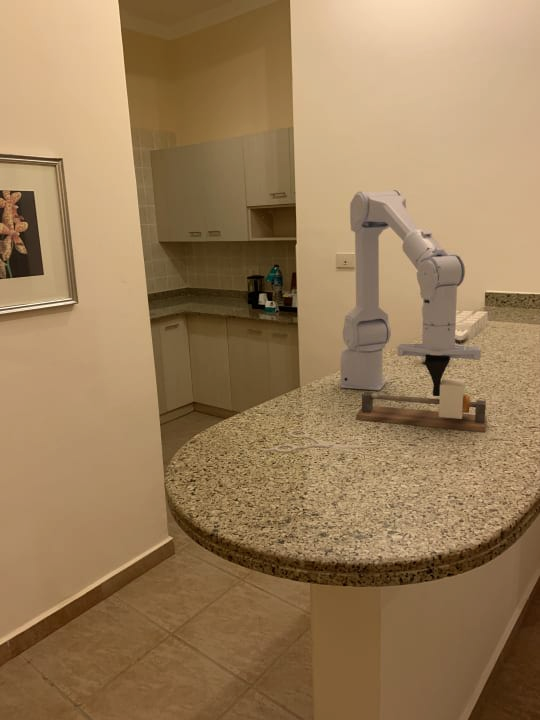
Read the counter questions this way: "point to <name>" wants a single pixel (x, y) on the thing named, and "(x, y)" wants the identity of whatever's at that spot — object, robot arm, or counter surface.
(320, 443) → the scissors
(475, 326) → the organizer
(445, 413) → the tan wooden block
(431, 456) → the counter surface
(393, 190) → the robot arm
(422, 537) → the counter surface
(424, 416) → the rod base
